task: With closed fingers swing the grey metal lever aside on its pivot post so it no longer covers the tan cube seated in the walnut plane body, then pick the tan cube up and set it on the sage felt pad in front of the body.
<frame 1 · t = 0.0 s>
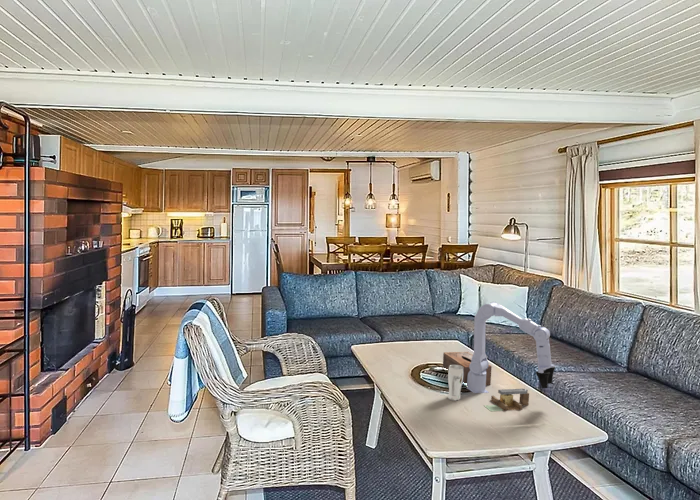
hand: (547, 385, 215), 11 cm above the table, tool pointing down, fingers open, 7 cm apart
plane body: (506, 405, 217), on the table
tissue box cover: (465, 377, 254), on the table
pad: (493, 409, 212), on the table
tan cube: (506, 404, 217), resting on plane body
beer glass: (454, 398, 223), on the table
lever: (513, 391, 217), point 6 cm above the table, hinge at 0.0°
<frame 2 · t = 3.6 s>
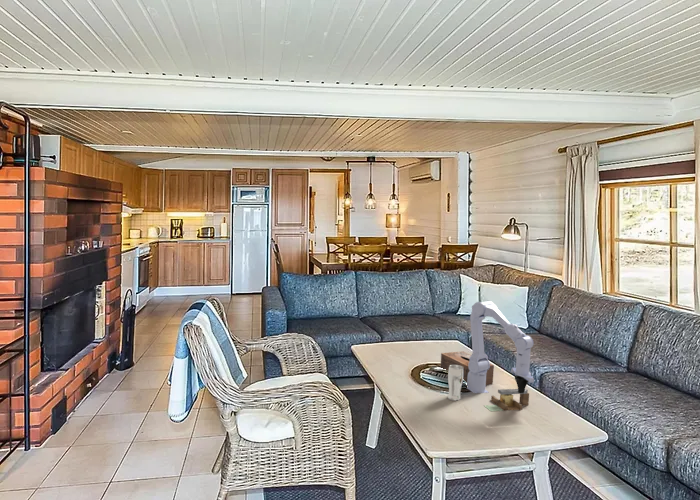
hand: (521, 392, 216), 6 cm above the table, tool pointing down, fingers closed, pressing on lever
lever: (513, 391, 217), point 6 cm above the table, hinge at -0.7°, touching gripper
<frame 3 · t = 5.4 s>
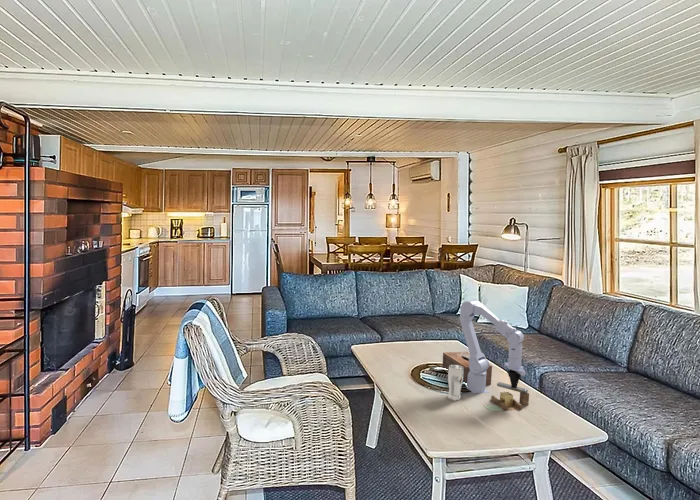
hand: (514, 386, 222), 7 cm above the table, tool pointing down, fingers closed, pressing on lever
lever: (512, 387, 222), point 6 cm above the table, hinge at -52.7°, touching gripper
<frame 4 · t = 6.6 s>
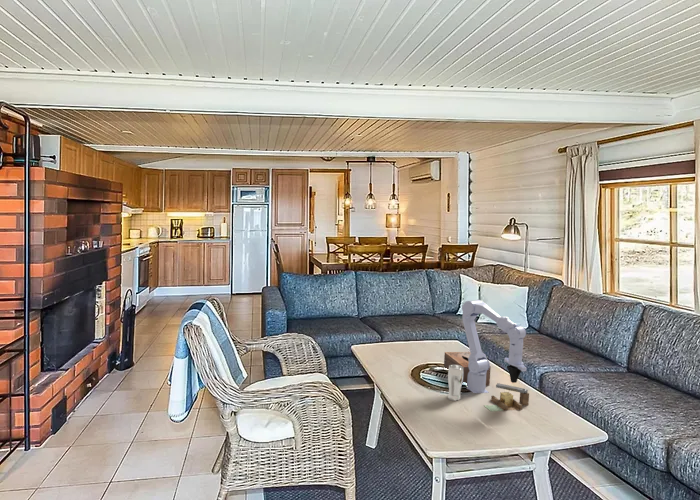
hand: (513, 382, 219), 10 cm above the table, tool pointing down, fingers closed
lever: (511, 388, 221), point 6 cm above the table, hinge at -43.1°
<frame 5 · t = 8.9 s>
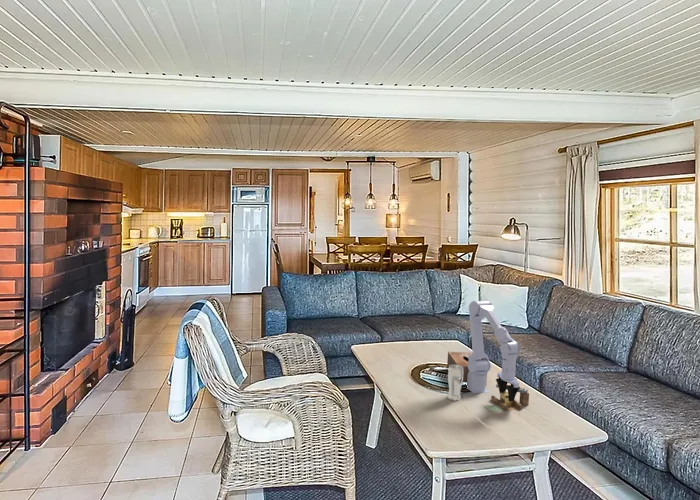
hand: (506, 397, 216), 4 cm above the table, tool pointing down, fingers open, 7 cm apart
lever: (511, 388, 221), point 6 cm above the table, hinge at -43.5°, touching gripper
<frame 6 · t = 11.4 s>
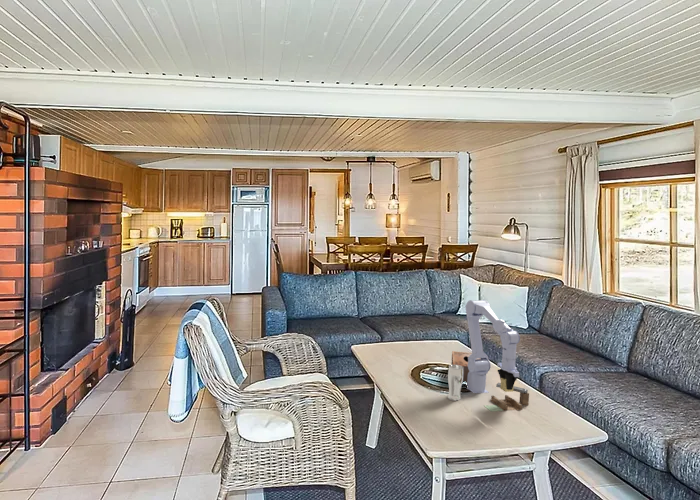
hand: (506, 387, 216), 8 cm above the table, tool pointing down, fingers closed on tan cube, 4 cm apart
tan cube: (506, 389, 216), point 7 cm above the table, touching gripper
lever: (512, 388, 222), point 6 cm above the table, hinge at -47.2°
when the fingers open (3 cm above the table, at t = 13.3 s): tan cube drops 1 cm, resting on pad.
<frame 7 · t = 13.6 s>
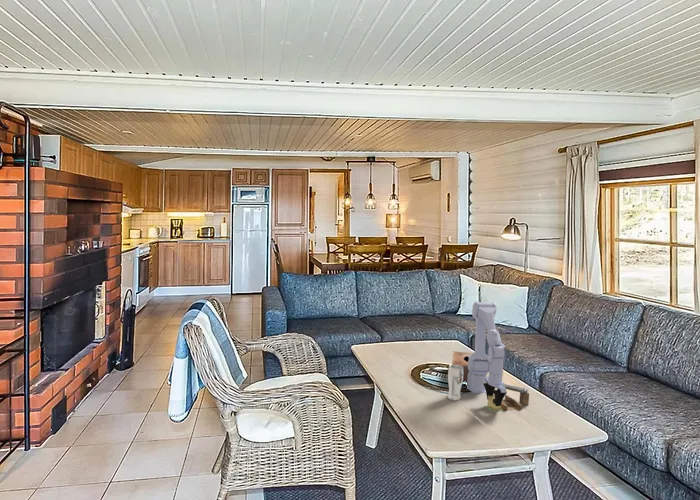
hand: (493, 402, 212), 3 cm above the table, tool pointing down, fingers open, 6 cm apart
tan cube: (494, 407, 212), point 1 cm above the table, touching pad
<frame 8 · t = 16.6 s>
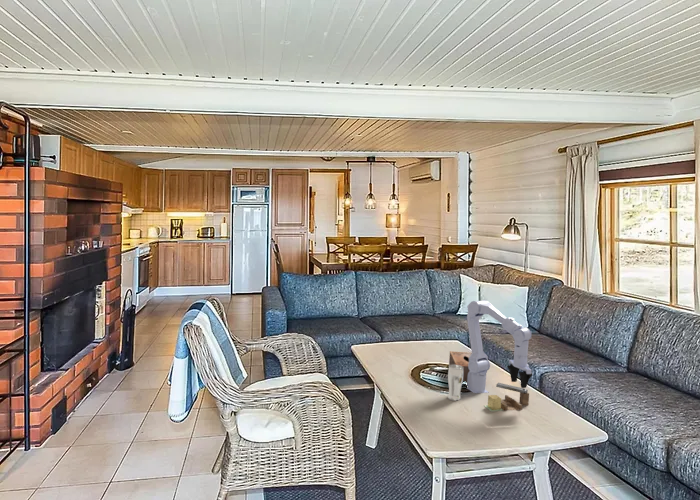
hand: (518, 384, 216), 10 cm above the table, tool pointing down, fingers open, 7 cm apart
at the end: lever at -47° (first picture: +0°); tan cube inside the target area on the pad (0.3 cm from its centre), point 0.6 cm above the pad's base; tan cube tilted 0° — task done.
